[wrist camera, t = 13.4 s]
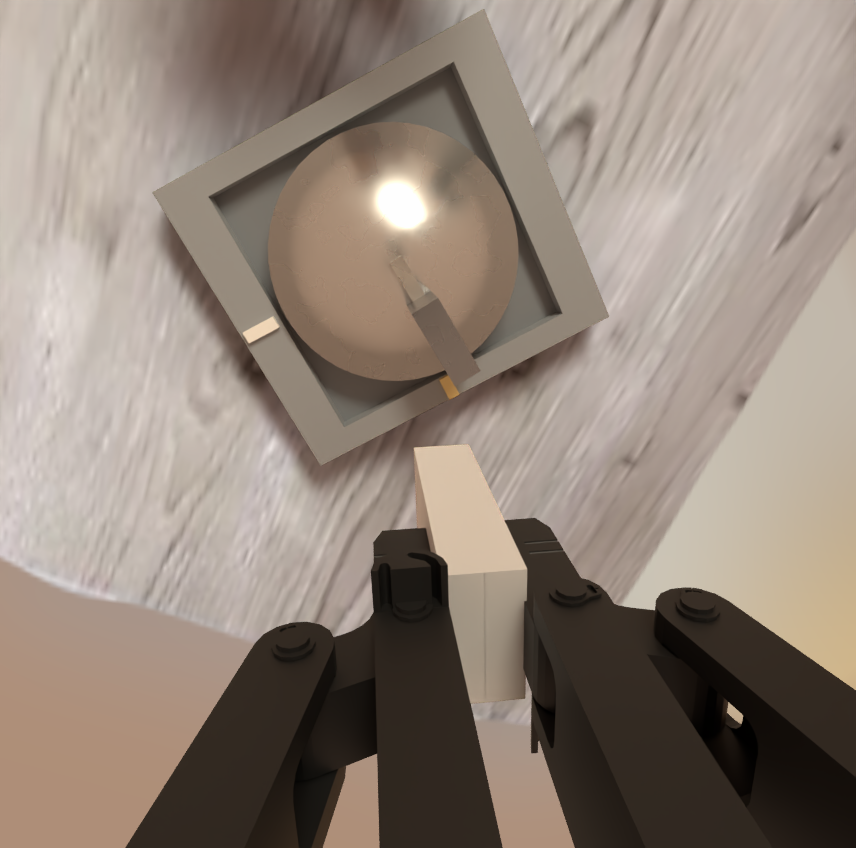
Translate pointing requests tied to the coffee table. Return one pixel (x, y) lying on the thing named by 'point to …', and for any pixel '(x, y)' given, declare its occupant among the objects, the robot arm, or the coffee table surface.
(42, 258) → the coffee table surface
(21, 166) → the coffee table surface
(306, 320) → the dial
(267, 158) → the board
